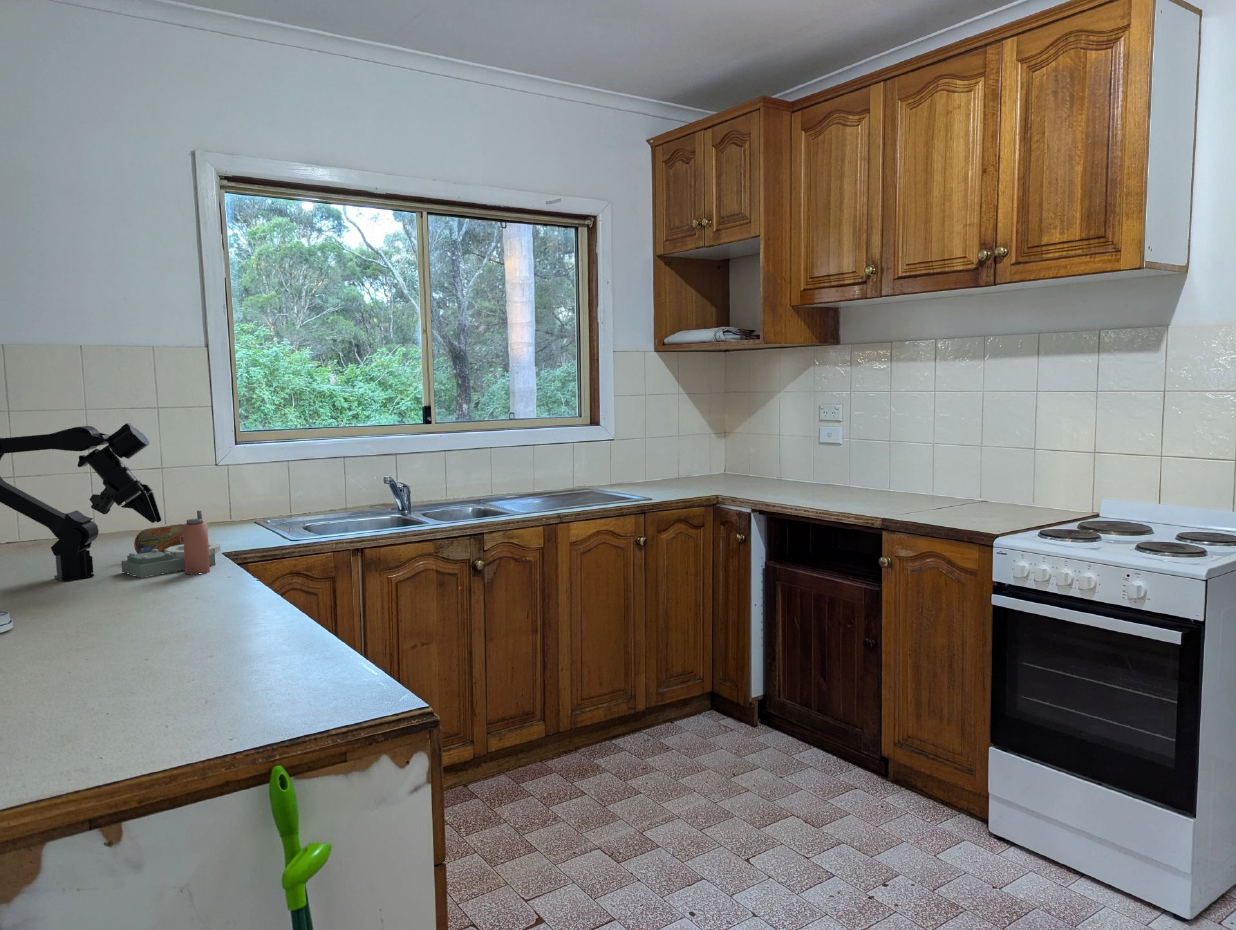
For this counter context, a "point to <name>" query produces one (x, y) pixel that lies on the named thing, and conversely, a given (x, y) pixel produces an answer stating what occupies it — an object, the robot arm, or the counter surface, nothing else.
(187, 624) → the counter surface
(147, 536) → the tin
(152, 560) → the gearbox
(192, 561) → the oil can
